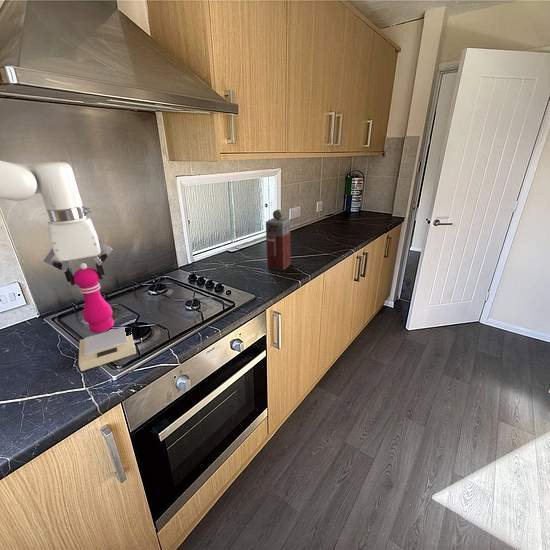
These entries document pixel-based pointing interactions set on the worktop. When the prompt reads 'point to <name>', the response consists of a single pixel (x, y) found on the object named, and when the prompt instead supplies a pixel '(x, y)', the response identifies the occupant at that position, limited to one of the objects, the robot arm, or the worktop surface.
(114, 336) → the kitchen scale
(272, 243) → the red square decanter
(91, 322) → the pepper mill
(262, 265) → the worktop surface
